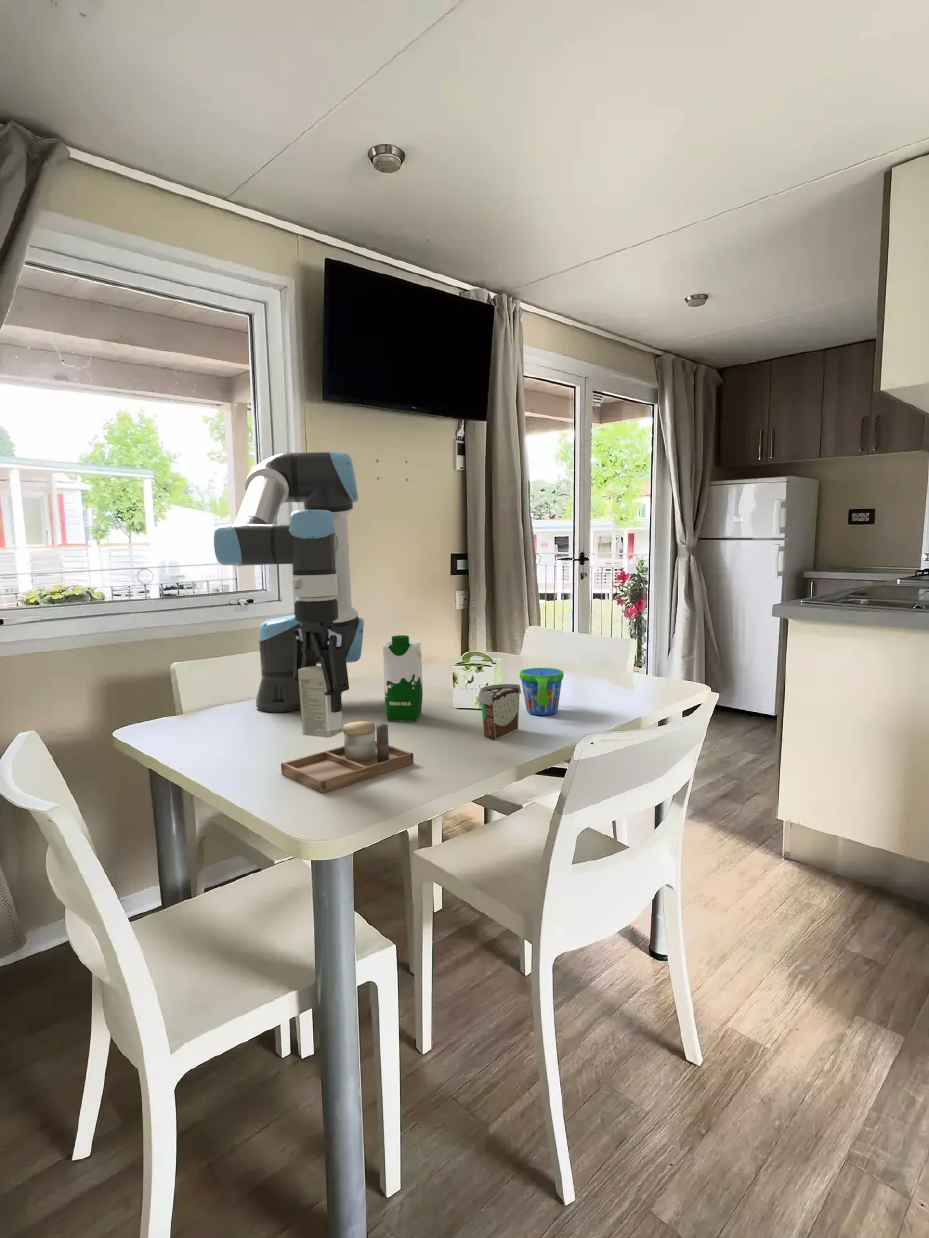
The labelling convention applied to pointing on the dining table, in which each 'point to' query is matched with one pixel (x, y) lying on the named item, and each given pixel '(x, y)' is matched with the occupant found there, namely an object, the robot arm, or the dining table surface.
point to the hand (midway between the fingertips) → (322, 725)
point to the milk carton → (402, 679)
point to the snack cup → (541, 689)
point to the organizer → (349, 759)
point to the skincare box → (314, 702)
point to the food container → (500, 709)
